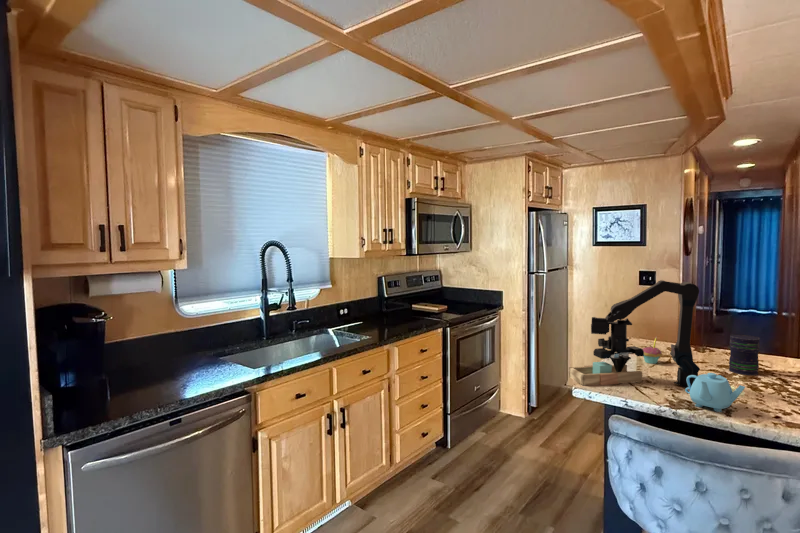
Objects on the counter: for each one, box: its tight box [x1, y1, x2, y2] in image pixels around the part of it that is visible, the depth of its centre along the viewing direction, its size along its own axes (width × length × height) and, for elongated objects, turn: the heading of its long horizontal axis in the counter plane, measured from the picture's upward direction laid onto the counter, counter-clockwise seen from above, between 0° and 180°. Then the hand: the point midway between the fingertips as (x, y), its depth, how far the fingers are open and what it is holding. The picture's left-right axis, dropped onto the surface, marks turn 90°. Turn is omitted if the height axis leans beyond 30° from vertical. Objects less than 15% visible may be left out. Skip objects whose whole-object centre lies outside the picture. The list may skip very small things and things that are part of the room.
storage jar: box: [728, 333, 761, 376], centre depth 183 cm, size 10×10×15 cm
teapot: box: [684, 372, 746, 413], centre depth 146 cm, size 15×14×11 cm
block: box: [592, 361, 613, 374], centre depth 175 cm, size 5×5×5 cm
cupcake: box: [641, 337, 663, 365], centre depth 198 cm, size 9×8×12 cm
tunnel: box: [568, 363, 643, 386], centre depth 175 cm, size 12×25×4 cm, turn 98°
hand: (618, 373), depth 176 cm, fingers closed
